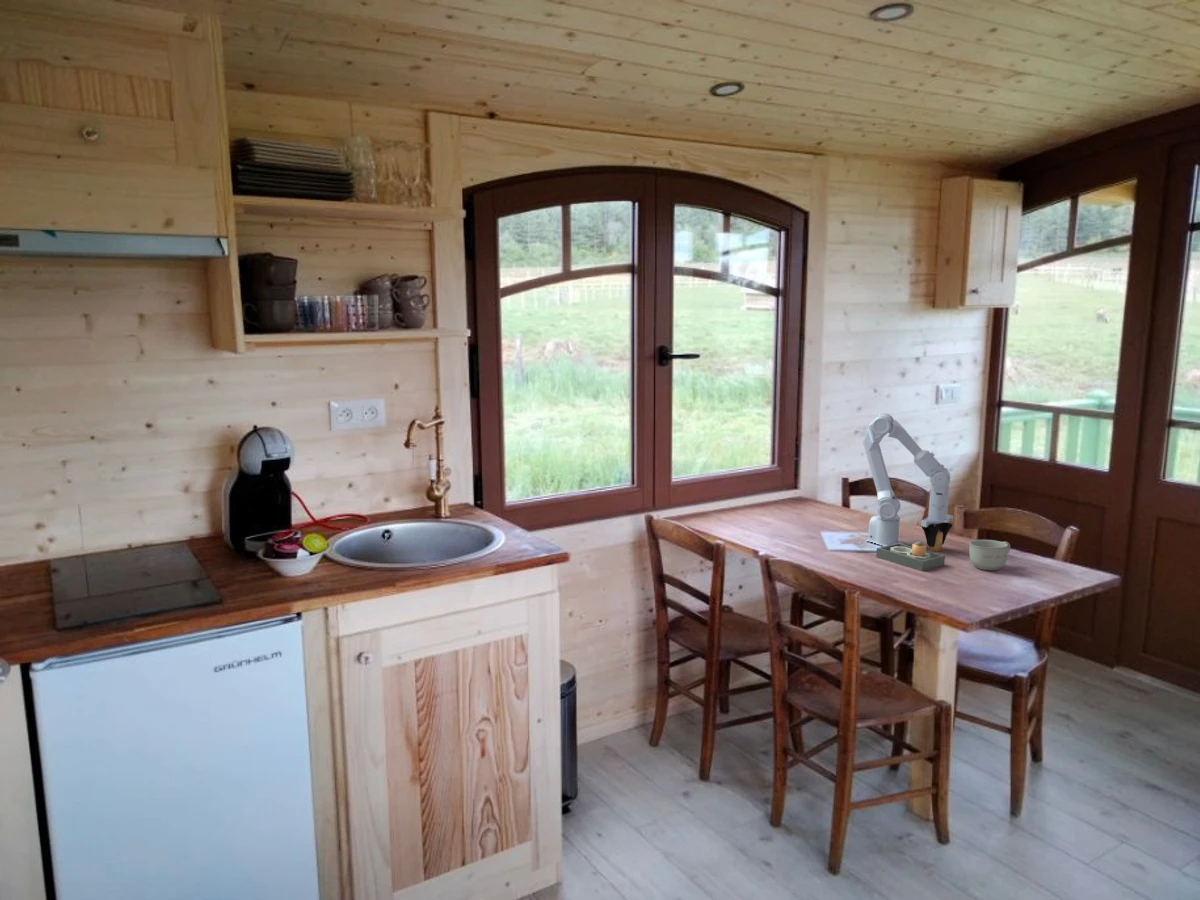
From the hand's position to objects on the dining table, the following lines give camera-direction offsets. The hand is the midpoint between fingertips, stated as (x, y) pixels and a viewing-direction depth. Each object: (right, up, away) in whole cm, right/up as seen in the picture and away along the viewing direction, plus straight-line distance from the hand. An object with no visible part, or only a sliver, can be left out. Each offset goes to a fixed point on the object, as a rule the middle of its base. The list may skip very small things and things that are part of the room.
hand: (935, 545), depth 274 cm
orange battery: (0, -2, 0) cm, 2 cm away
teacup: (+10, -5, -18) cm, 21 cm away
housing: (-13, -4, -12) cm, 18 cm away
